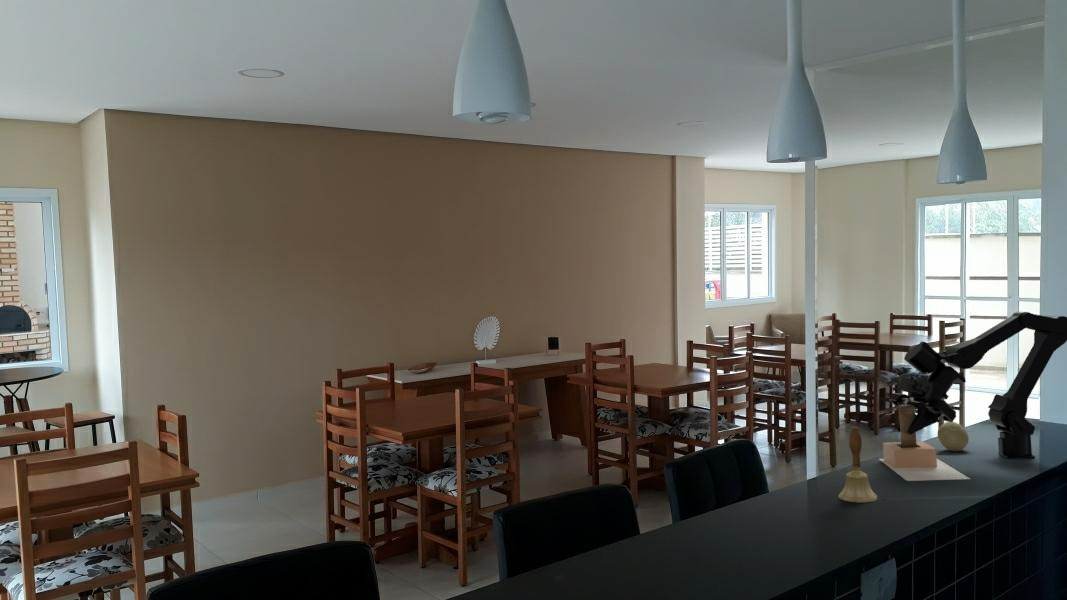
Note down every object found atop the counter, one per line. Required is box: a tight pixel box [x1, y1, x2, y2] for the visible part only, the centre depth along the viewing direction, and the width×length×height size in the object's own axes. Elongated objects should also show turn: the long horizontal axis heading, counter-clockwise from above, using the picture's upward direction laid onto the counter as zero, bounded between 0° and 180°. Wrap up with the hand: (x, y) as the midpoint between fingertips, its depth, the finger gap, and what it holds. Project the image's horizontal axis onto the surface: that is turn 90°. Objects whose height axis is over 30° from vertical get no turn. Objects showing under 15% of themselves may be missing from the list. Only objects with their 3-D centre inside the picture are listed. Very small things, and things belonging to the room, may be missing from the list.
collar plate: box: [878, 440, 971, 482], centre depth 199 cm, size 14×24×5 cm, turn 171°
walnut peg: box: [898, 405, 917, 448], centre depth 205 cm, size 4×4×13 cm
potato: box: [937, 421, 970, 452], centre depth 217 cm, size 8×8×8 cm
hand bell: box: [838, 426, 879, 504], centre depth 178 cm, size 8×8×16 cm
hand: (903, 432), depth 205 cm, fingers closed on walnut peg, 4 cm apart
